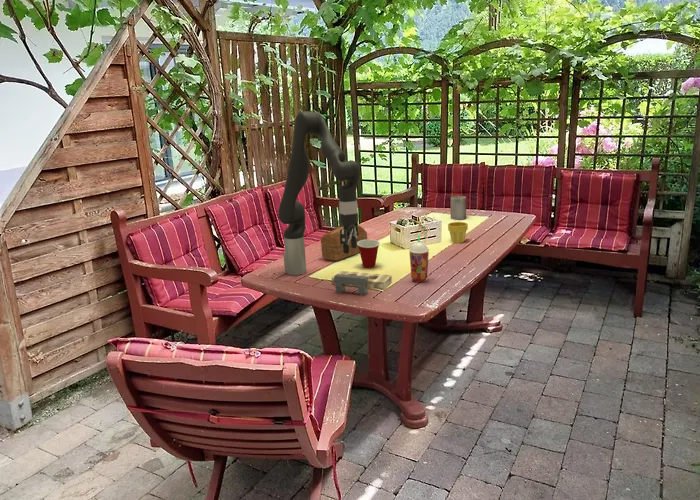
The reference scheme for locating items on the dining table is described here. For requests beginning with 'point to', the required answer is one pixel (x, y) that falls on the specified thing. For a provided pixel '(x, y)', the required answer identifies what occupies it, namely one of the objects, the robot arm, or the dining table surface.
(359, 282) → the grey bridge block
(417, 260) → the smoothie
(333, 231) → the bread
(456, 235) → the plant pot
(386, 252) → the dining table surface
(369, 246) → the plastic cup
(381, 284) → the ice cube tray
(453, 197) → the pillar candle
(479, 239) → the dining table surface
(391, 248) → the dining table surface
